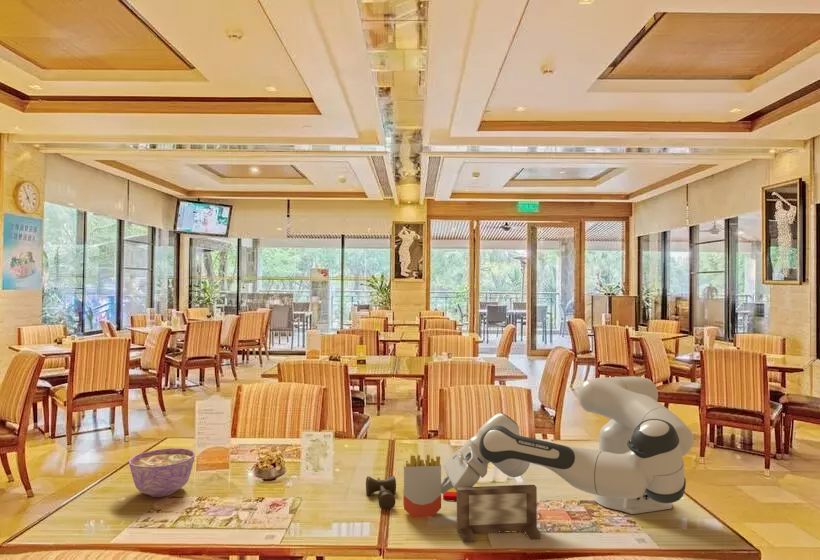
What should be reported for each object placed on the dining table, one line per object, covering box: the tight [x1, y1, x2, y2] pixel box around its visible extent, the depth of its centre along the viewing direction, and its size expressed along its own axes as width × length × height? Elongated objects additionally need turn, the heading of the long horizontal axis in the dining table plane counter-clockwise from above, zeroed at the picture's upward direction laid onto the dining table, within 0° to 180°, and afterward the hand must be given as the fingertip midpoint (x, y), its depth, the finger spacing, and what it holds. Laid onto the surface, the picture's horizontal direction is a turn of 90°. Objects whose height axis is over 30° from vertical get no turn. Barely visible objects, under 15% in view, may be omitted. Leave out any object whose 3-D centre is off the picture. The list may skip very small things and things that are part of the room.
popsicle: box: [442, 487, 457, 502], centre depth 179 cm, size 6×15×2 cm, turn 173°
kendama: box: [365, 475, 397, 510], centre depth 174 cm, size 6×10×20 cm
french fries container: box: [402, 454, 442, 518], centre depth 162 cm, size 5×11×18 cm, turn 95°
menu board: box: [456, 484, 542, 544], centre depth 148 cm, size 22×7×12 cm, turn 96°
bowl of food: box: [128, 447, 196, 498], centre depth 179 cm, size 20×20×12 cm
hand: (440, 490), depth 162 cm, fingers closed, pressing on french fries container
